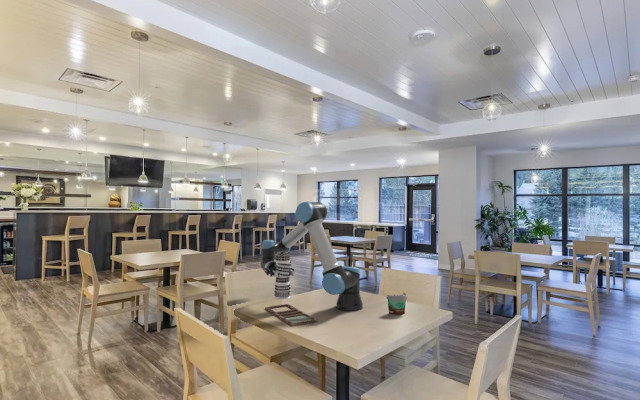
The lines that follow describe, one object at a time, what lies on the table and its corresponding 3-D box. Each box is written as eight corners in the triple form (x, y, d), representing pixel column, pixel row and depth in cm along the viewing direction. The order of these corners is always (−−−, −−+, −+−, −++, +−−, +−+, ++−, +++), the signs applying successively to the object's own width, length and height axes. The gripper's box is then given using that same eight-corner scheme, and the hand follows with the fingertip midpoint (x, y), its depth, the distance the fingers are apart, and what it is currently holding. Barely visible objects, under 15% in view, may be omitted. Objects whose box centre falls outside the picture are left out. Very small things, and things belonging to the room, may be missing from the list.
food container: (393, 316, 185) (393, 297, 185) (386, 313, 190) (386, 295, 190) (412, 313, 190) (412, 295, 191) (404, 310, 196) (404, 292, 196)
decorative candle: (294, 297, 194) (294, 251, 195) (281, 300, 188) (282, 253, 188) (283, 294, 201) (283, 250, 201) (270, 297, 194) (271, 251, 195)
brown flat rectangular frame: (265, 308, 198) (265, 307, 198) (288, 305, 205) (288, 303, 205) (291, 326, 169) (291, 324, 169) (317, 321, 176) (317, 319, 176)
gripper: (289, 272, 215) (303, 279, 195) (255, 275, 206) (266, 282, 186) (289, 260, 215) (303, 266, 195) (255, 262, 206) (266, 268, 186)
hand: (285, 274), depth 190 cm, fingers closed on decorative candle, 9 cm apart
